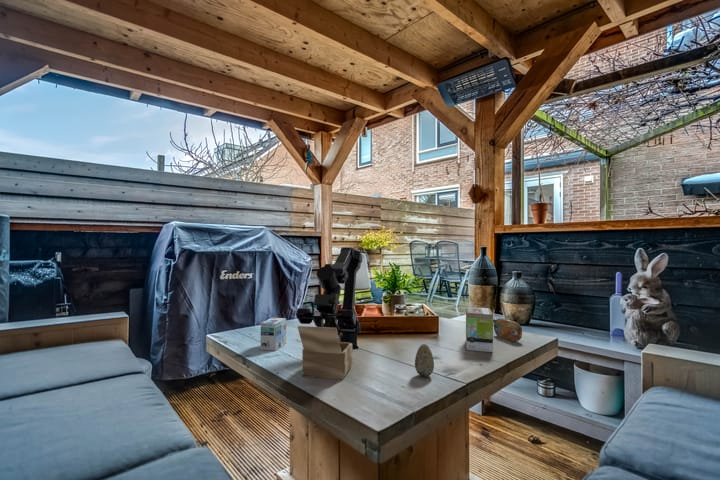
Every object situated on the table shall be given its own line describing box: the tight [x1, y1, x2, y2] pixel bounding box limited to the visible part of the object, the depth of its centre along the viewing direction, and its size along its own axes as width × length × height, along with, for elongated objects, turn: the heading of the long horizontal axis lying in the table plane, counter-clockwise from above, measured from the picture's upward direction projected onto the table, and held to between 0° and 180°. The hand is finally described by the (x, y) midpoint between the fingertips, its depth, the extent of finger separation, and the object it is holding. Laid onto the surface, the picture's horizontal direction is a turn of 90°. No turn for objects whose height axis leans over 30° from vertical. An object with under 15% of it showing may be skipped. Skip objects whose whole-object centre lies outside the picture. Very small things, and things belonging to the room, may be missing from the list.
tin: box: [493, 318, 523, 343], centre depth 151 cm, size 15×3×8 cm, turn 17°
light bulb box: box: [260, 317, 287, 352], centre depth 141 cm, size 11×7×11 cm, turn 168°
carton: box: [301, 342, 353, 380], centre depth 113 cm, size 12×14×8 cm
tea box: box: [465, 306, 494, 353], centre depth 141 cm, size 15×10×15 cm, turn 164°
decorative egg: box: [414, 343, 435, 378], centre depth 108 cm, size 6×6×10 cm
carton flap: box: [297, 325, 342, 354], centre depth 105 cm, size 10×12×1 cm
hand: (320, 341), depth 105 cm, fingers closed, pressing on carton flap
